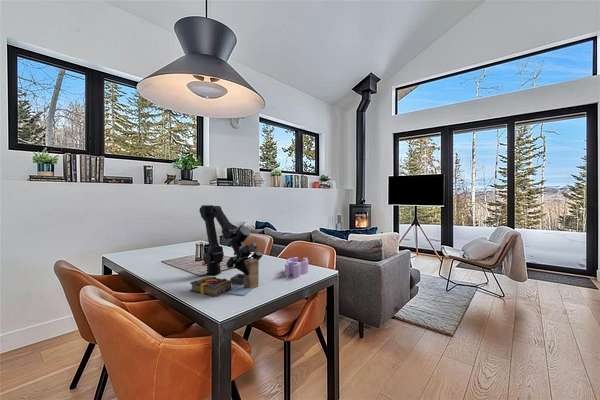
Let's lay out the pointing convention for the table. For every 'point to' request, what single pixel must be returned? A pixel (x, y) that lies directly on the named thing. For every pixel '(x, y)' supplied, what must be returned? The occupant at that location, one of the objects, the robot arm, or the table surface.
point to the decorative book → (211, 286)
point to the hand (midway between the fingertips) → (252, 273)
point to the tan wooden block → (251, 273)
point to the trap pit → (238, 279)
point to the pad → (240, 291)
